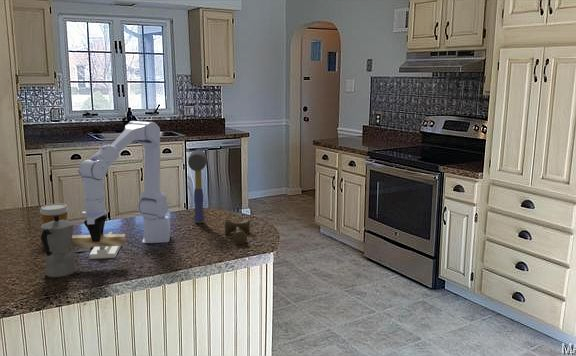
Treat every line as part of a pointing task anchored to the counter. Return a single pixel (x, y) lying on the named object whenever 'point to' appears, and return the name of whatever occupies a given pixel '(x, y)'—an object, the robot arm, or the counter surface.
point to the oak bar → (104, 240)
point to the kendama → (238, 230)
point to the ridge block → (104, 251)
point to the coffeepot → (58, 247)
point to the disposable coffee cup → (53, 212)
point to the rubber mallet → (198, 182)
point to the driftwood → (84, 248)
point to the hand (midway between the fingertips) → (97, 239)
